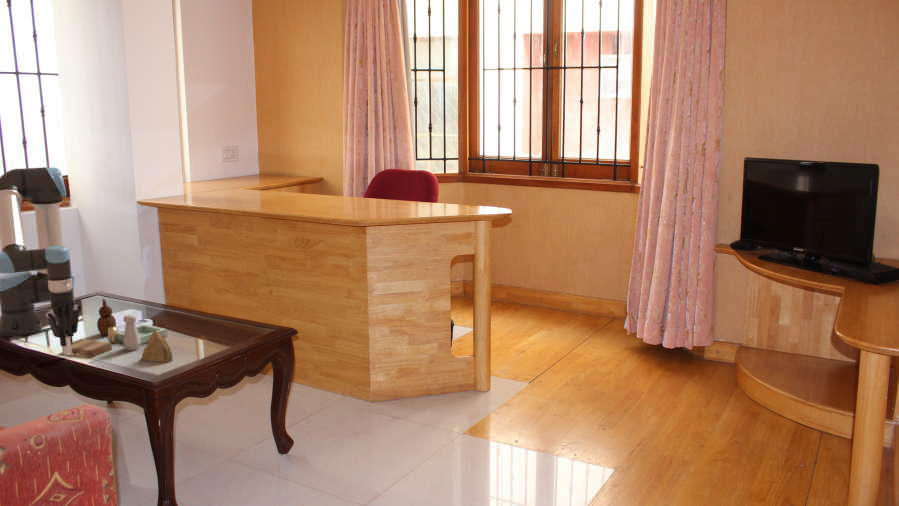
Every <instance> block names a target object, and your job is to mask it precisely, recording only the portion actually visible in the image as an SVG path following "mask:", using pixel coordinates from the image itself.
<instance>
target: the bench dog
mask: <svg viewBox="0 0 899 506" xmlns="http://www.w3.org/2000/svg"><path fill="white" fill-rule="evenodd" d="M117 332H118V330H117V326H116V327H109V328H108V336H107V337H108V343H111V345H116V344H118V342H119V341H117Z"/></svg>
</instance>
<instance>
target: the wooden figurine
mask: <svg viewBox="0 0 899 506" xmlns="http://www.w3.org/2000/svg"><path fill="white" fill-rule="evenodd" d="M98 314H99V315H98V316H100V317H99V318H98V319H97V323H96V325H97V326H96V327H97V330H98V332H99V333H100V335H101V336H105V337H108V328H109V327H116V328H117V322H116V321H117V319H115V318H116V317H115V316H114V315H112V314H113V310H112V307H111V306H108V304H107V301H106V299H105V298H102V306H100V308H99V309H98Z"/></svg>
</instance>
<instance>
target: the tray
mask: <svg viewBox="0 0 899 506" xmlns="http://www.w3.org/2000/svg"><path fill="white" fill-rule="evenodd" d="M136 327H137V331H138V334H139V338H140V341H141V343H140V346H144V345H147V343H148V341H149V338H150V337H151V335H152V334H153V332H154V331H156V332H159V333H160V334H161V335H162V336H163V338H164V339H165V338H167V337H168V331H167V328H162V327H158V326H153V325H149V324H144V323H143V324H140V325H136ZM124 335H125V329H124V330H121V331H117V342H121V343H124ZM140 346H139V347H140Z"/></svg>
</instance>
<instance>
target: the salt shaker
mask: <svg viewBox="0 0 899 506" xmlns="http://www.w3.org/2000/svg"><path fill="white" fill-rule="evenodd" d="M136 321H137V316H136V315H135V314H130V313H129V314H125V315H124V316H123V322H124V323H125V328H124V330H125V335H124V342H123V346H124V347H125V350H126V351H137V350H138V349H139V348H140V343H141V341H140V338H139V334H138V331H137V325H136Z"/></svg>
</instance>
